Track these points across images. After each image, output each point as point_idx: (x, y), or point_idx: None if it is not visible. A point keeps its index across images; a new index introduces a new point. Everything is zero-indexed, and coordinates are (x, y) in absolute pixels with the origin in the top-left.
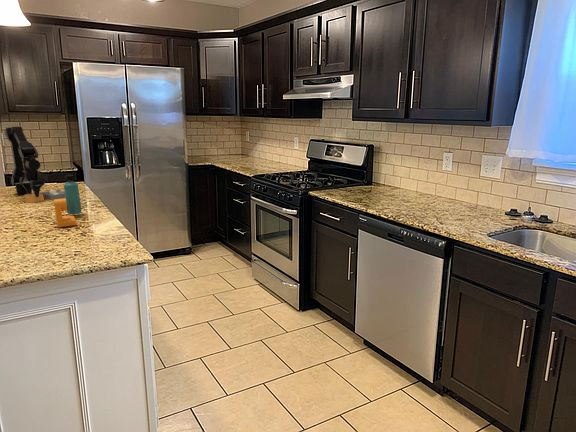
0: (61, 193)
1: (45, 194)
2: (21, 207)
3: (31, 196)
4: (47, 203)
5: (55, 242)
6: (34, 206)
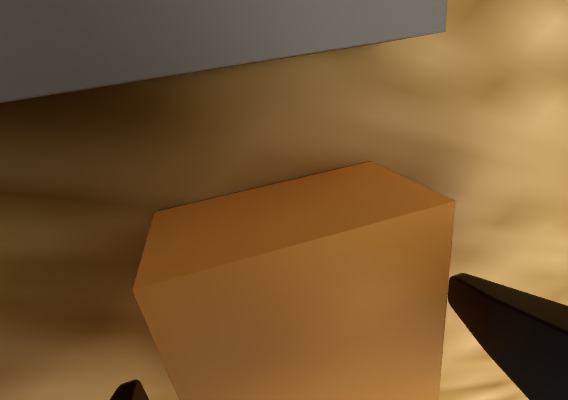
0: None
1: (147, 78)
2: (506, 375)
3: (435, 374)
4: (562, 157)
5: None
6: (565, 288)
